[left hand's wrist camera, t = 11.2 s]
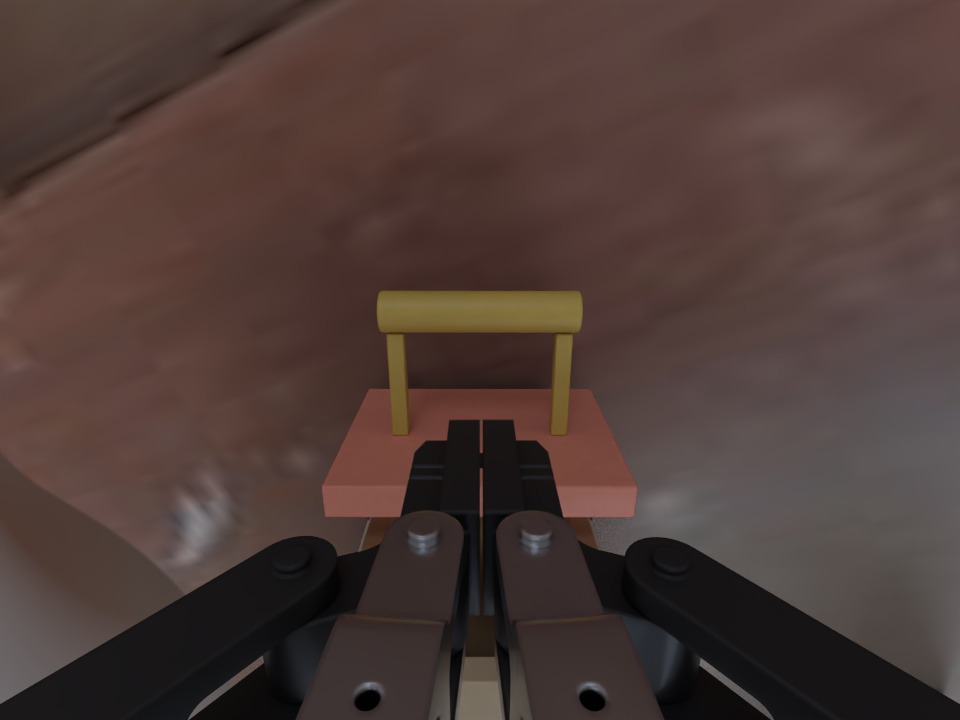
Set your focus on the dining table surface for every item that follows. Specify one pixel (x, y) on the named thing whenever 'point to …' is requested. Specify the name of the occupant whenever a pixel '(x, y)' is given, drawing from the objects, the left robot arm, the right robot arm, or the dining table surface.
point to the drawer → (426, 413)
